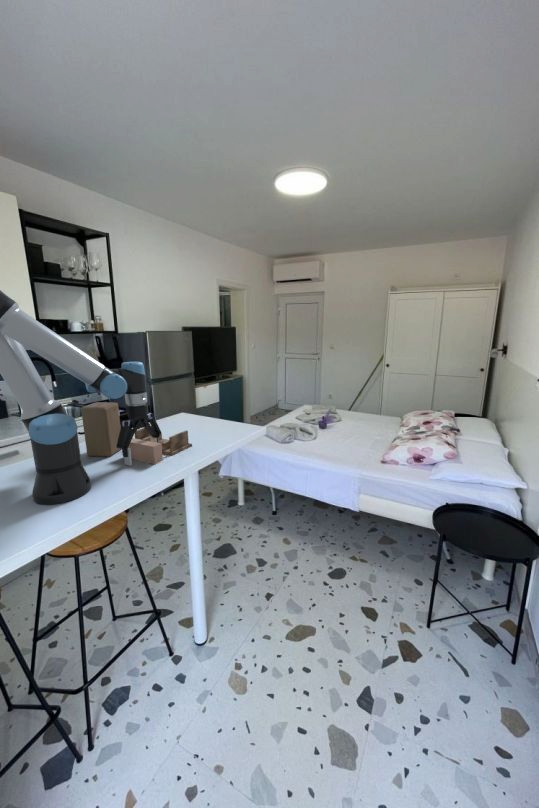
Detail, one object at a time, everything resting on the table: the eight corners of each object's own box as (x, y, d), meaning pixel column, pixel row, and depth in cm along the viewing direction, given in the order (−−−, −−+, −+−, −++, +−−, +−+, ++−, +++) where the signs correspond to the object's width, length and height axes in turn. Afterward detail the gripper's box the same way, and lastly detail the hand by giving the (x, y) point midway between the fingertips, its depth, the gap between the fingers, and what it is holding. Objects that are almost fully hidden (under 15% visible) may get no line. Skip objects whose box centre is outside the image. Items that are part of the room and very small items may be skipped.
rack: (172, 455, 131) (171, 438, 129) (132, 447, 140) (130, 431, 139) (192, 446, 141) (191, 430, 140) (153, 439, 151) (152, 424, 149)
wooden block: (123, 448, 139) (118, 402, 135) (110, 457, 129) (104, 407, 125) (101, 447, 140) (95, 401, 136) (86, 456, 130) (79, 407, 126)
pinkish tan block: (154, 464, 122) (153, 446, 121) (124, 457, 129) (122, 440, 128) (162, 460, 126) (161, 443, 124) (132, 454, 133) (130, 437, 131)
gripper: (116, 412, 110) (122, 472, 115) (167, 398, 132) (171, 449, 136) (100, 410, 113) (107, 468, 118) (153, 397, 135) (158, 447, 140)
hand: (142, 458), depth 127 cm, fingers open, 12 cm apart
